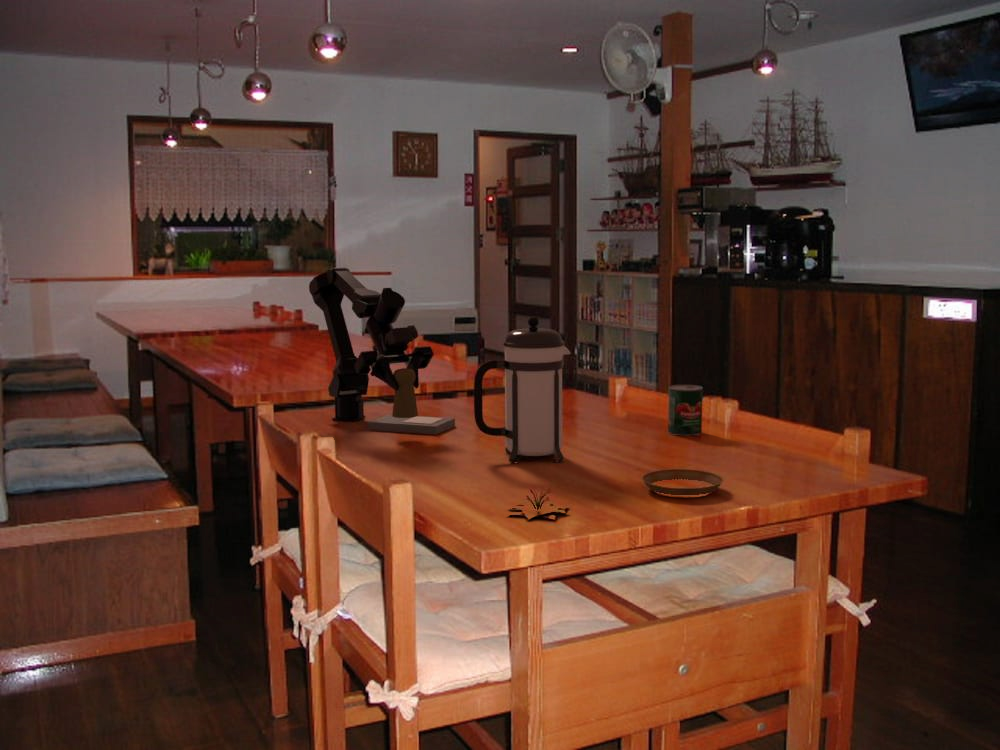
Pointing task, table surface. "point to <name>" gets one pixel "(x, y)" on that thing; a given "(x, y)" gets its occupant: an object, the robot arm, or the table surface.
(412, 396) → the cork
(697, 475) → the plant saucer
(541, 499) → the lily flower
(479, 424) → the coffee press
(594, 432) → the table surface
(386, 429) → the dock step
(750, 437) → the table surface
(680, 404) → the canned tomato
